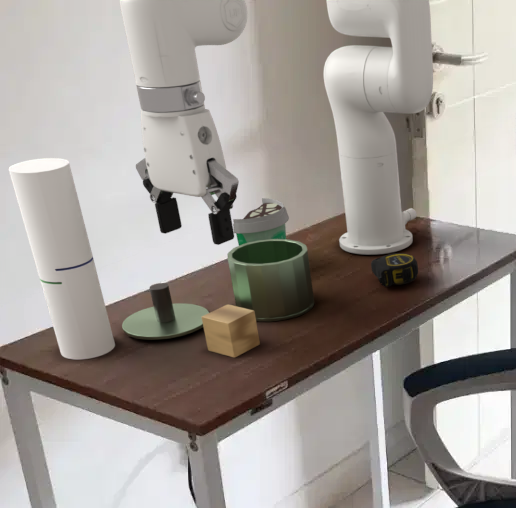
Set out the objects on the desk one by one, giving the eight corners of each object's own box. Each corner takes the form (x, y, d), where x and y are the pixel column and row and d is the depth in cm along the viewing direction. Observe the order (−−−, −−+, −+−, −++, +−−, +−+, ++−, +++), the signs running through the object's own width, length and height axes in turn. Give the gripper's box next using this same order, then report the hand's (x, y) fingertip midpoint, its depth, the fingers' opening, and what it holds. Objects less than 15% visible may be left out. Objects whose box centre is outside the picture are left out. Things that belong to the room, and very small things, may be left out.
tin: (273, 287, 157) (265, 234, 153) (329, 300, 152) (323, 245, 147) (221, 312, 149) (210, 257, 144) (278, 327, 144) (269, 270, 139)
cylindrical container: (114, 355, 137) (67, 169, 124) (59, 362, 136) (5, 175, 122) (115, 335, 143) (70, 155, 130) (62, 342, 141) (11, 161, 128)
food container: (278, 284, 158) (269, 221, 153) (242, 282, 160) (231, 220, 154) (306, 257, 169) (298, 198, 163) (272, 256, 170) (263, 197, 164)
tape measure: (371, 278, 160) (369, 255, 158) (413, 272, 161) (411, 249, 159) (380, 292, 154) (378, 269, 152) (423, 286, 156) (421, 263, 154)
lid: (169, 304, 152) (161, 266, 149) (228, 319, 147) (221, 279, 144) (105, 333, 144) (95, 293, 140) (165, 350, 138) (156, 308, 135)
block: (233, 337, 141) (227, 304, 139) (260, 344, 139) (254, 310, 136) (207, 350, 138) (201, 316, 135) (234, 357, 135) (228, 323, 133)
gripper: (245, 98, 121) (266, 237, 130) (146, 87, 129) (173, 219, 138) (198, 110, 116) (224, 254, 125) (99, 98, 124) (130, 234, 133)
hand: (197, 236), depth 132 cm, fingers open, 9 cm apart
